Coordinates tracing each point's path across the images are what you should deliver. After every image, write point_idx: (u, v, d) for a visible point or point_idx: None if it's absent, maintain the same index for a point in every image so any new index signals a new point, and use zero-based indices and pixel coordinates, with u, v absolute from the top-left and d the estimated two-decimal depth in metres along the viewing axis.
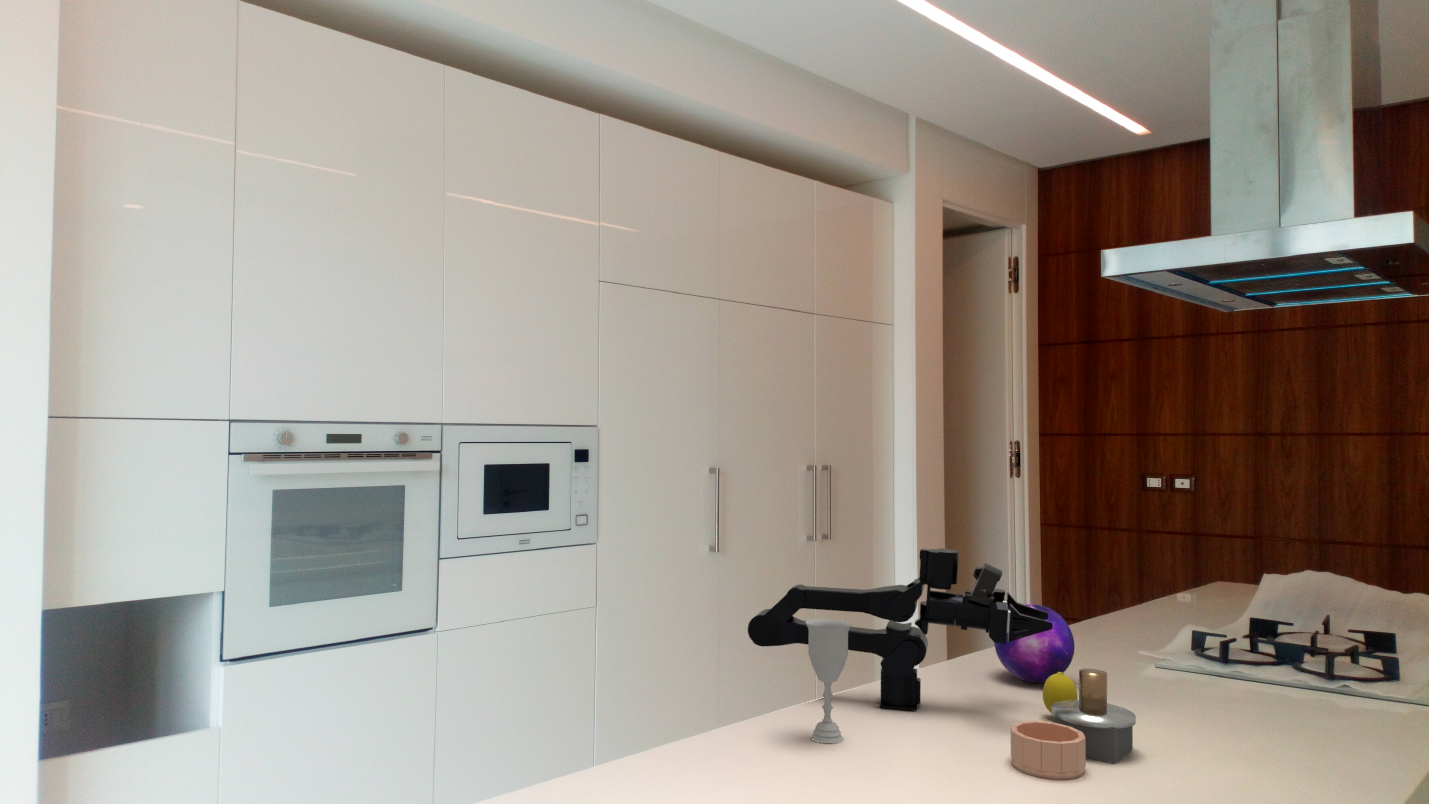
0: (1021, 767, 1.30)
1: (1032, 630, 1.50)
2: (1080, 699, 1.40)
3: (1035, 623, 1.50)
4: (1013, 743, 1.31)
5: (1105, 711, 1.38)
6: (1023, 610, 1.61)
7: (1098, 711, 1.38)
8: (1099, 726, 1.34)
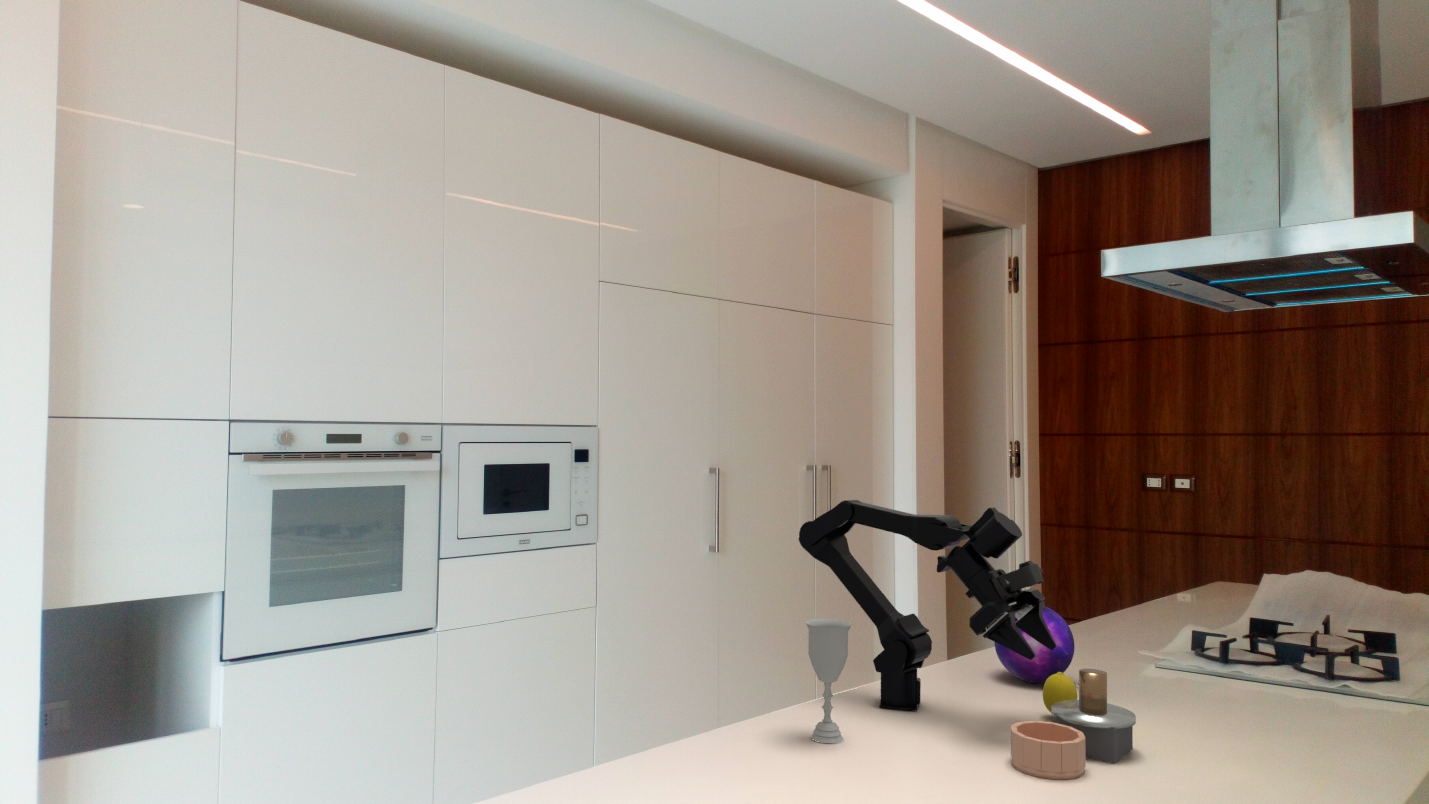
0: (1021, 767, 1.30)
1: (1012, 646, 1.43)
2: (1080, 699, 1.40)
3: (1019, 643, 1.42)
4: (1013, 743, 1.31)
5: (1105, 711, 1.38)
6: (1038, 626, 1.51)
7: (1098, 711, 1.38)
8: (1099, 726, 1.34)
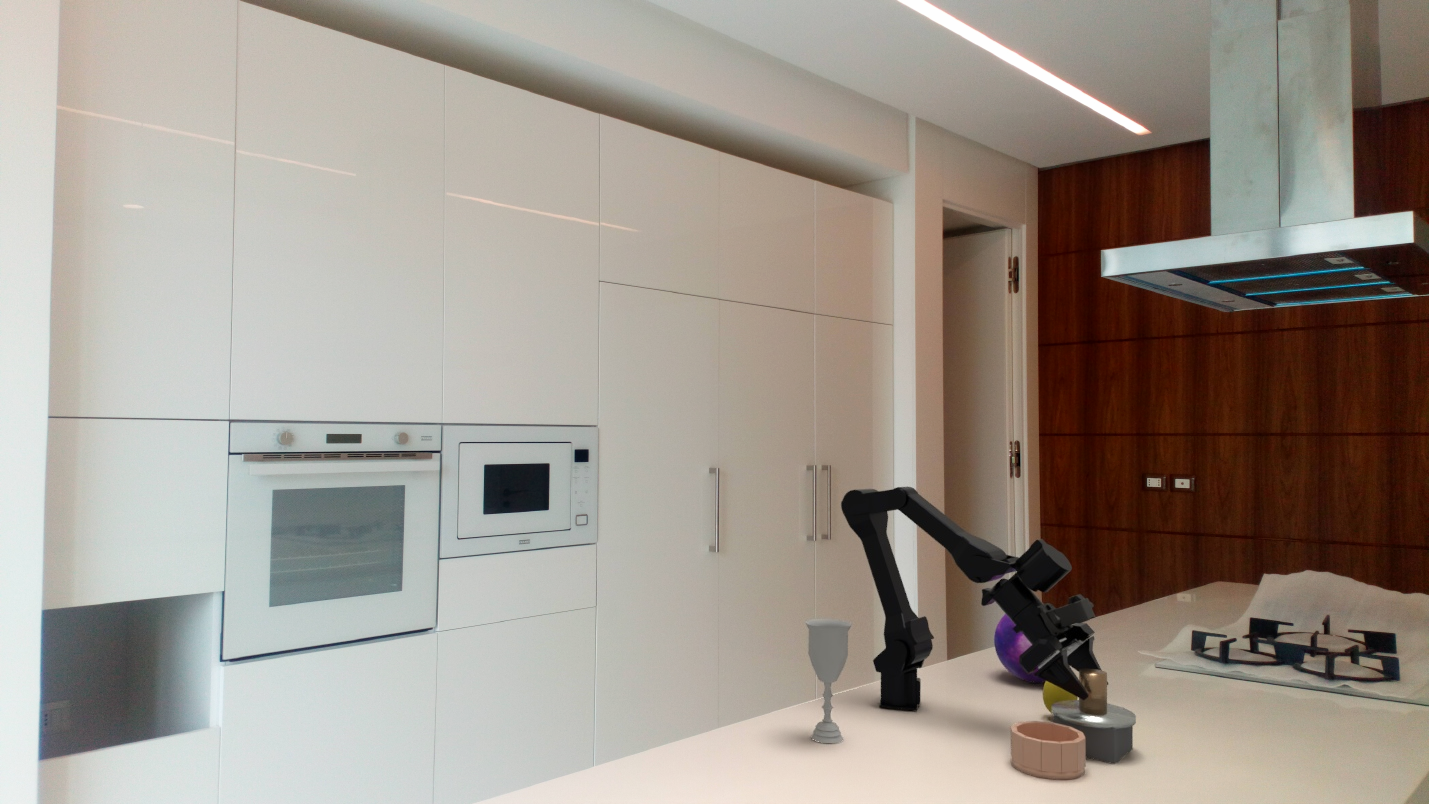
0: (1021, 767, 1.30)
1: (1064, 685, 1.37)
2: (1080, 699, 1.40)
3: (1072, 682, 1.37)
4: (1013, 743, 1.31)
5: (1105, 711, 1.38)
6: (1088, 662, 1.45)
7: (1098, 711, 1.38)
8: (1099, 726, 1.34)
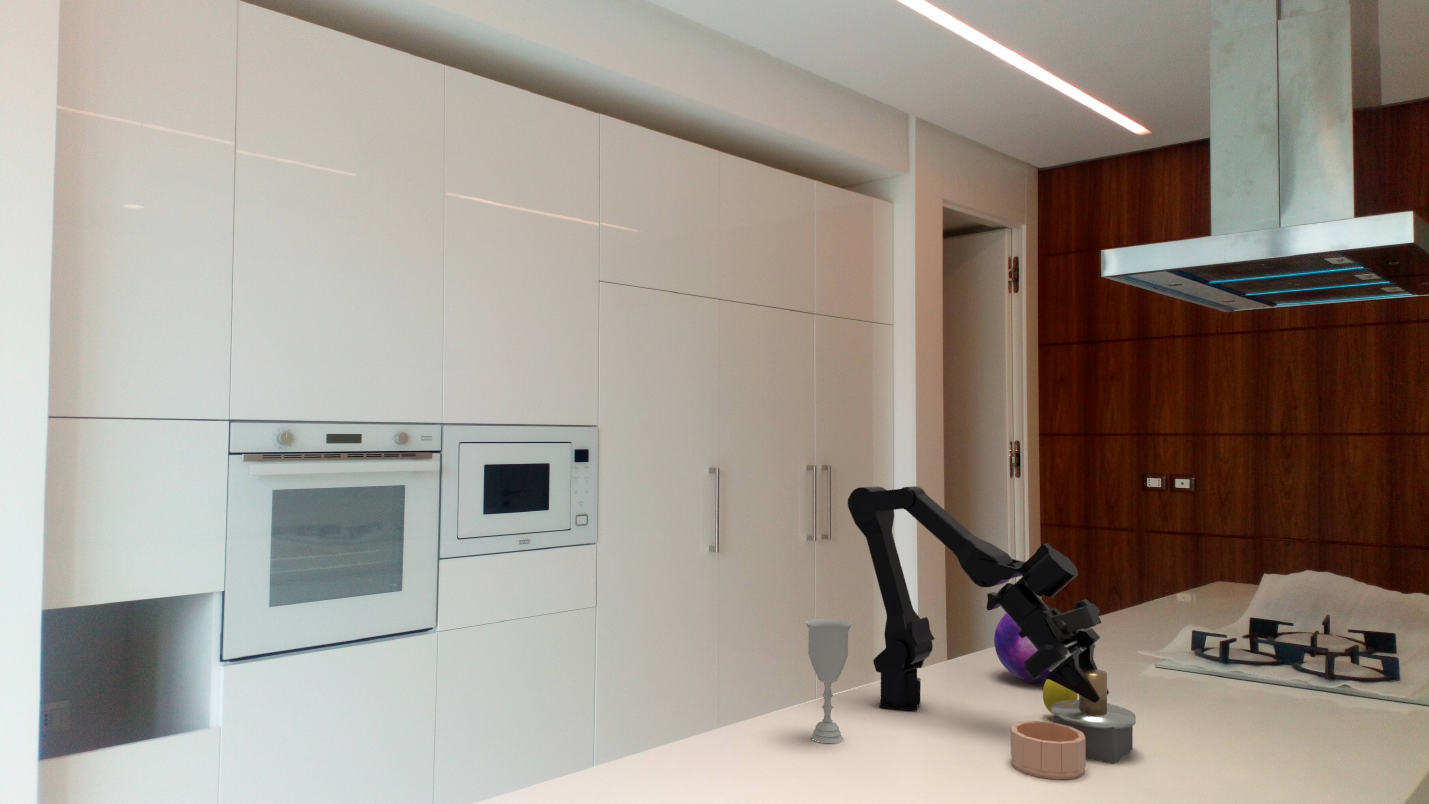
0: (1021, 767, 1.30)
1: (1075, 688, 1.39)
2: (1080, 699, 1.40)
3: (1083, 685, 1.38)
4: (1013, 743, 1.31)
5: (1105, 711, 1.38)
6: None
7: (1098, 711, 1.38)
8: (1099, 726, 1.34)
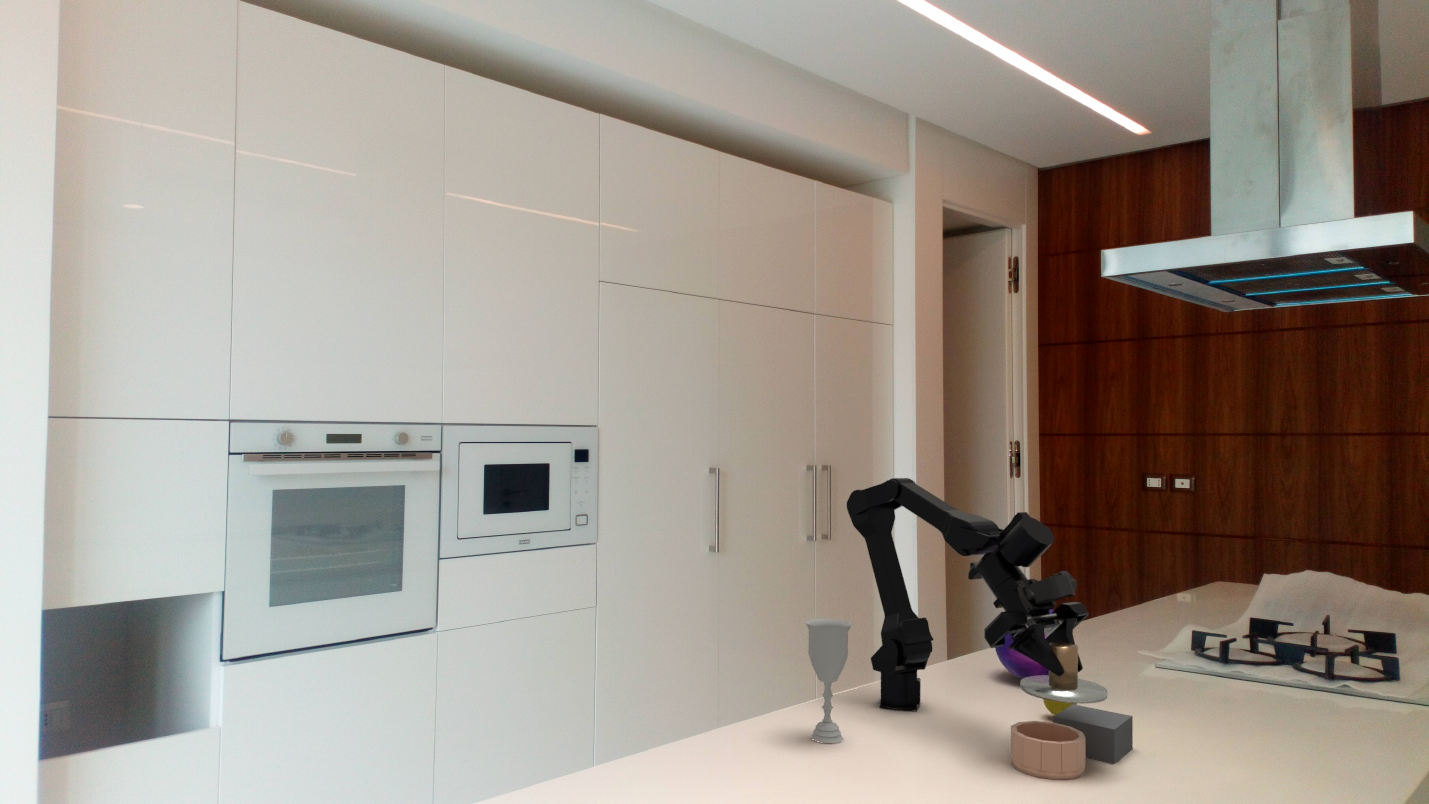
0: (1021, 767, 1.30)
1: (1040, 660, 1.34)
2: (1049, 672, 1.34)
3: (1047, 657, 1.33)
4: (1013, 743, 1.31)
5: (1073, 686, 1.32)
6: None
7: (1064, 685, 1.32)
8: (1055, 699, 1.29)
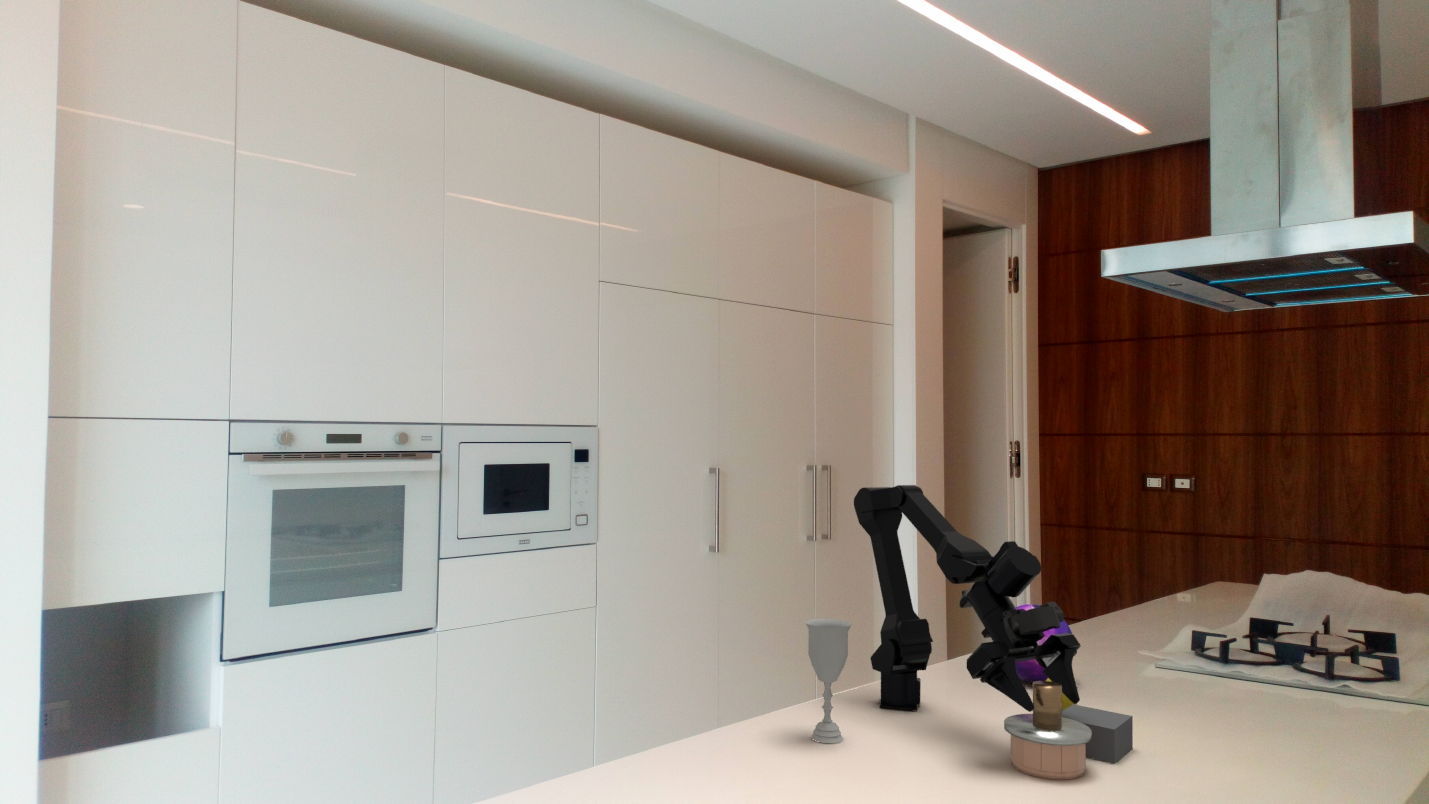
0: (1021, 767, 1.30)
1: (1011, 694, 1.31)
2: None
3: (1017, 692, 1.30)
4: (1013, 743, 1.31)
5: (1056, 727, 1.30)
6: (1063, 675, 1.36)
7: (1046, 726, 1.30)
8: (1034, 740, 1.27)
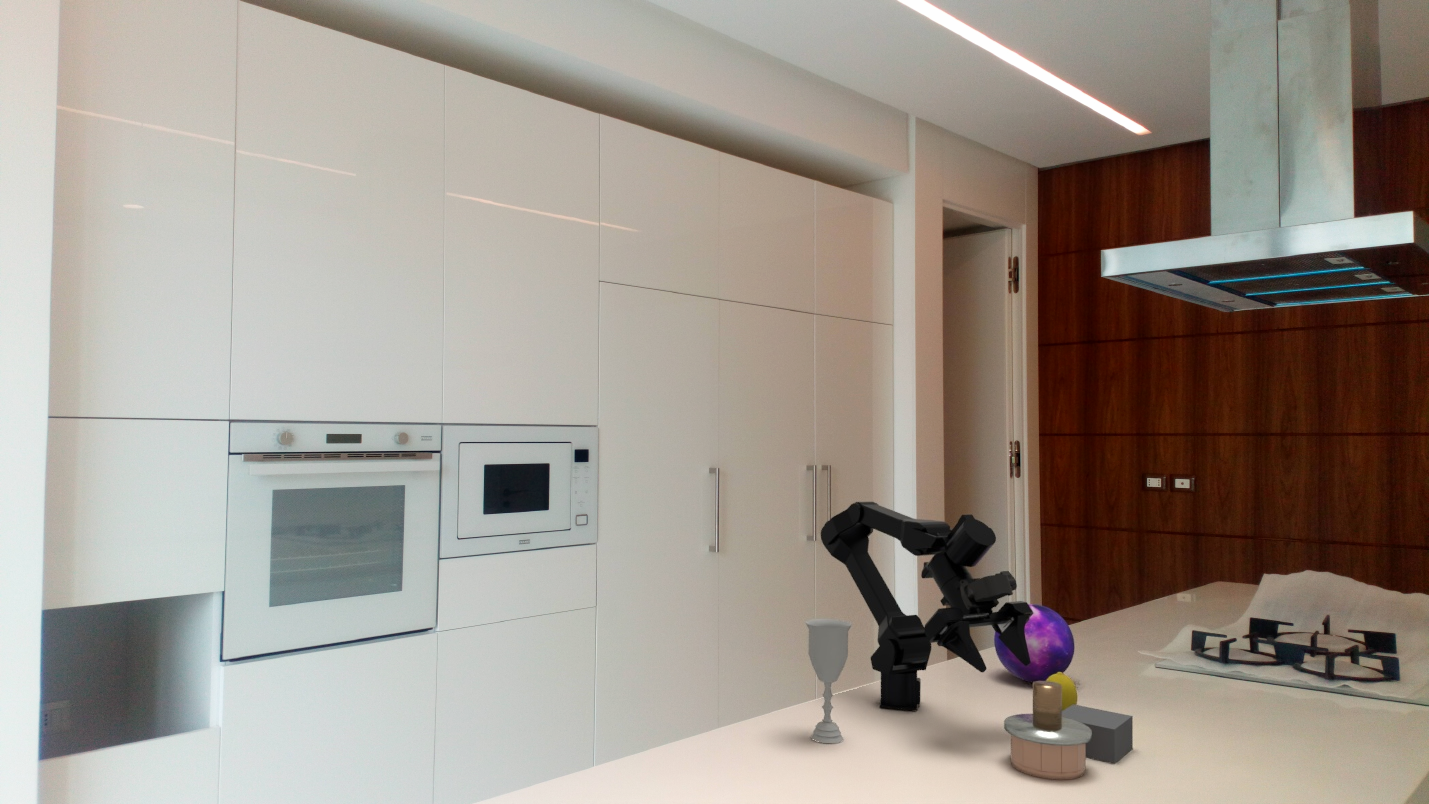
0: (1021, 767, 1.30)
1: (965, 657, 1.39)
2: None
3: (971, 654, 1.38)
4: (1013, 743, 1.31)
5: (1056, 727, 1.30)
6: (1016, 640, 1.44)
7: (1046, 726, 1.30)
8: (1034, 740, 1.27)
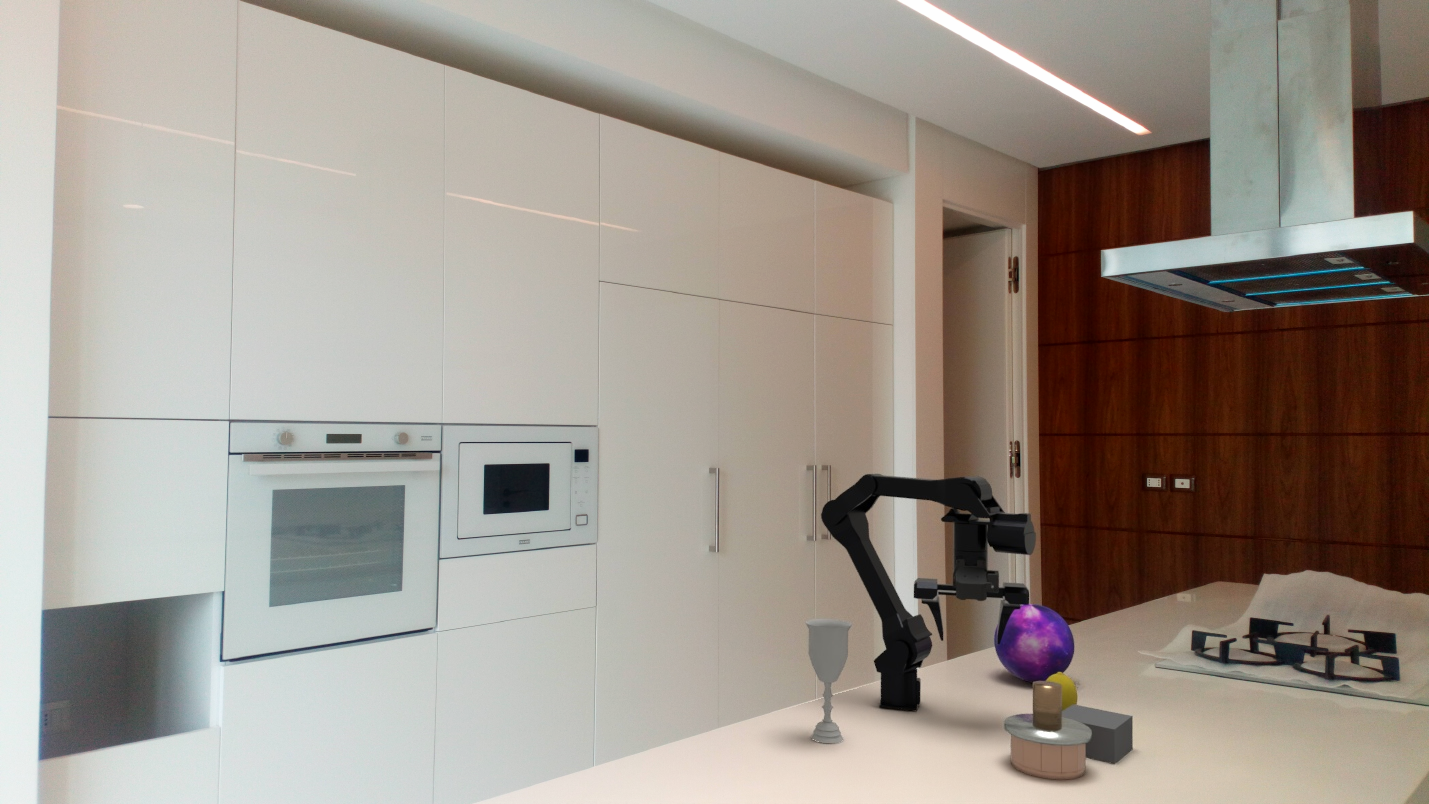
0: (1021, 767, 1.30)
1: None
2: None
3: None
4: (1013, 743, 1.31)
5: (1056, 727, 1.30)
6: (999, 619, 1.53)
7: (1046, 726, 1.30)
8: (1034, 740, 1.27)
